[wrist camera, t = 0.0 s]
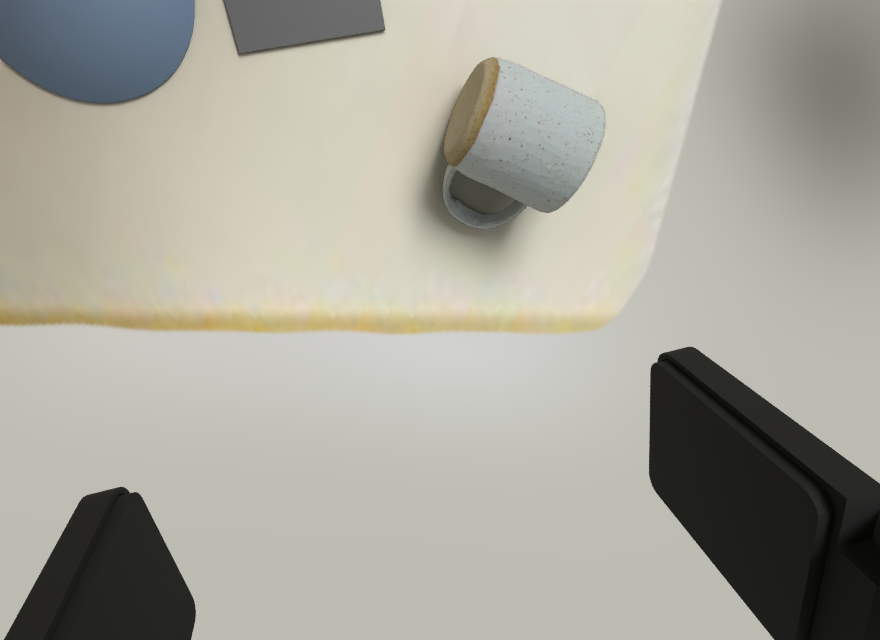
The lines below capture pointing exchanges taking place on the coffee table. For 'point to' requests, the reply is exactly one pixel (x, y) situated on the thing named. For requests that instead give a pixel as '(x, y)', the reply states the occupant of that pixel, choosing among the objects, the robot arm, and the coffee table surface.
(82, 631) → the robot arm
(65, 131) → the coffee table surface
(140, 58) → the disc
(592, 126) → the grey rounded holder
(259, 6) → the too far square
